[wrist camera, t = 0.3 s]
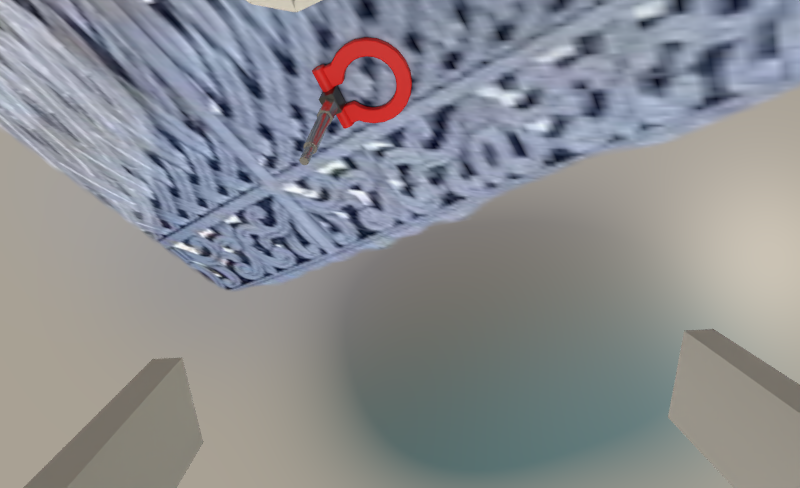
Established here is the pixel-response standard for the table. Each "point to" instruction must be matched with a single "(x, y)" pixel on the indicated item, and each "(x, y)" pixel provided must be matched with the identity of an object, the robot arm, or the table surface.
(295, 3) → the round tray
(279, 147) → the table surface
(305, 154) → the tow hook
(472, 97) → the table surface
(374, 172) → the table surface
